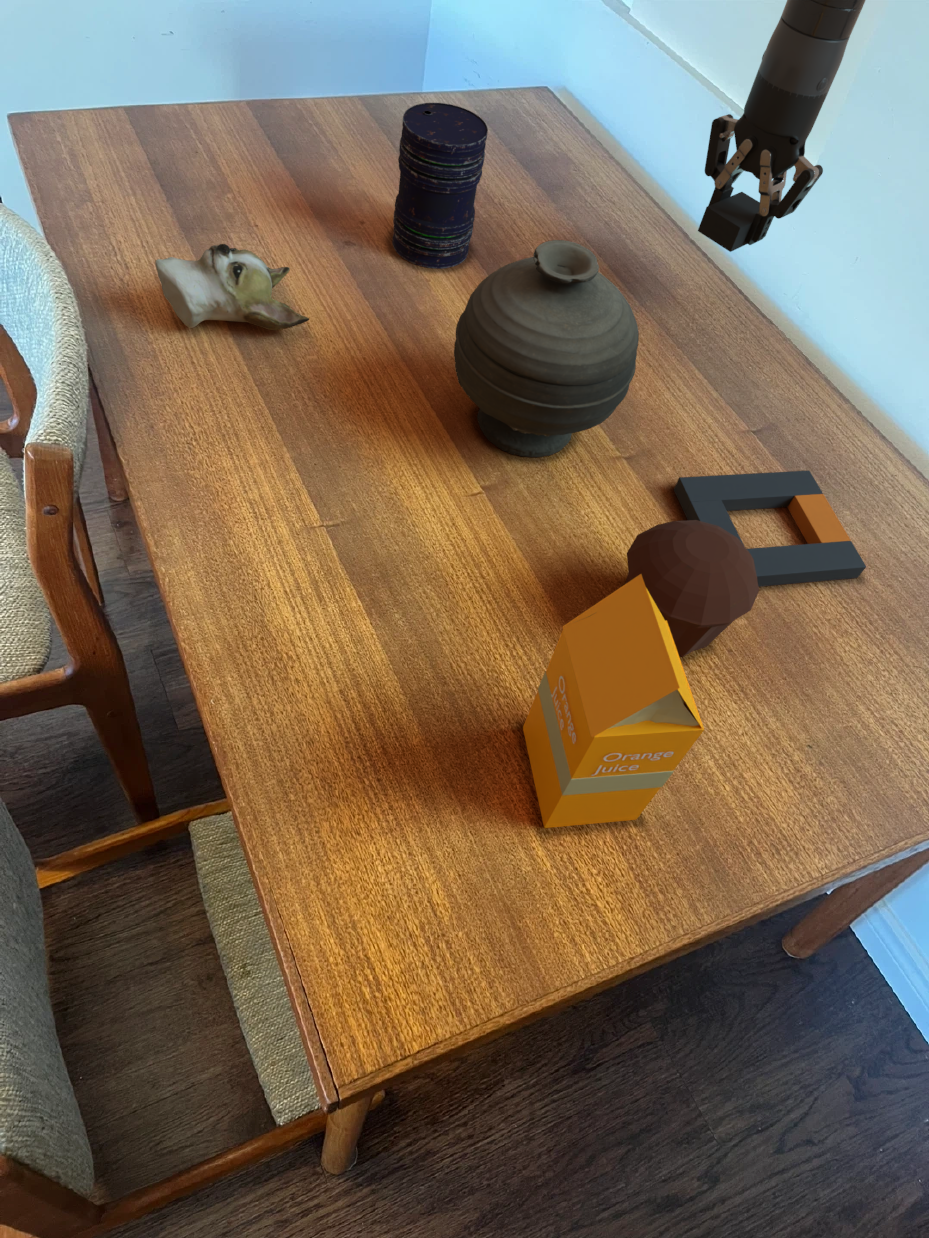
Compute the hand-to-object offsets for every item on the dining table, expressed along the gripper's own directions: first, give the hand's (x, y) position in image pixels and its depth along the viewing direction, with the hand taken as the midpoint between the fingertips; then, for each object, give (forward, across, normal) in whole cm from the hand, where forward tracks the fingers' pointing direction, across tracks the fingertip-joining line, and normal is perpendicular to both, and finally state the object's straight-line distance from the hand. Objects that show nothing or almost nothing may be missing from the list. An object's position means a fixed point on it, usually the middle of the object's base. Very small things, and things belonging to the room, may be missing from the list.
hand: (732, 229), depth 104 cm
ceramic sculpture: (+10, +28, +51) cm, 59 cm away
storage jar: (+10, +27, +23) cm, 37 cm away
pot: (+10, -4, +36) cm, 37 cm away
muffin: (+10, -30, +43) cm, 53 cm away
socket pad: (+10, -29, +26) cm, 40 cm away
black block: (0, 0, 0) cm, 0 cm away
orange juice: (+10, -35, +61) cm, 71 cm away
